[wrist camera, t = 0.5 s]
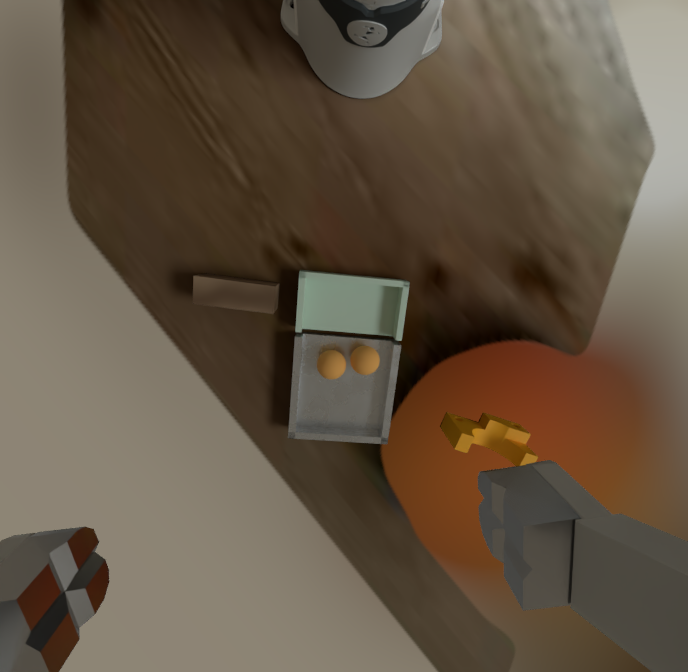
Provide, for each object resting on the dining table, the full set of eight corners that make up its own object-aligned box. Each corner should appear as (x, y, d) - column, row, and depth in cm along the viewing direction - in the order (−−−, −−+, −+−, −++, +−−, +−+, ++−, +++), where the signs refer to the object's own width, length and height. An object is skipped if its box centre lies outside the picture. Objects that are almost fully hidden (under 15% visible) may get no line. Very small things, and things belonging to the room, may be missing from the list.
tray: (300, 269, 48) (299, 271, 45) (404, 279, 49) (409, 281, 46) (297, 327, 50) (295, 332, 47) (397, 335, 51) (401, 340, 48)
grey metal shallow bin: (296, 331, 50) (294, 336, 47) (396, 339, 51) (401, 345, 48) (290, 427, 53) (288, 438, 50) (383, 433, 54) (387, 444, 51)
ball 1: (318, 345, 49) (317, 353, 45) (346, 347, 50) (348, 356, 46) (316, 372, 50) (315, 382, 46) (343, 374, 51) (345, 385, 47)
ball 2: (350, 341, 49) (353, 349, 45) (378, 343, 50) (383, 351, 46) (348, 368, 50) (349, 378, 46) (375, 370, 51) (379, 380, 47)
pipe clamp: (519, 423, 56) (543, 446, 49) (507, 447, 56) (530, 472, 50) (450, 401, 54) (467, 422, 48) (439, 426, 55) (454, 449, 49)
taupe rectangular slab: (205, 273, 47) (193, 275, 43) (279, 282, 48) (275, 286, 44) (204, 298, 48) (192, 303, 44) (277, 307, 49) (273, 313, 45)
